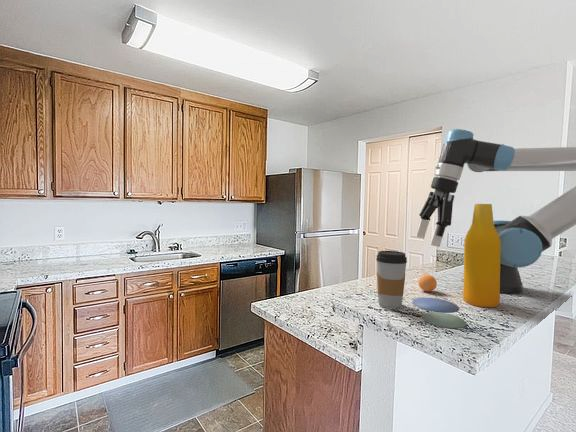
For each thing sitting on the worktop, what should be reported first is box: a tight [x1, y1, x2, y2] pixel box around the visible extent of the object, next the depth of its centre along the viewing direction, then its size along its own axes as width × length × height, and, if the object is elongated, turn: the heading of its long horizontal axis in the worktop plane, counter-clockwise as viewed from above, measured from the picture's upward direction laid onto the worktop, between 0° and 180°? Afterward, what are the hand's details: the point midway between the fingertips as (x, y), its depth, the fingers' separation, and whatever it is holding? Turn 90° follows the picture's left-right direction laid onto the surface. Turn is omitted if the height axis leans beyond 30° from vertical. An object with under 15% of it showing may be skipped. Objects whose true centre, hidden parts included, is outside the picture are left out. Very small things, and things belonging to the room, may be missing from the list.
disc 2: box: [421, 311, 467, 329], centre depth 80 cm, size 10×10×1 cm
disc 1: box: [412, 297, 459, 313], centre depth 91 cm, size 12×12×1 cm
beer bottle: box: [462, 203, 501, 308], centre depth 93 cm, size 9×9×29 cm
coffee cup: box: [375, 250, 408, 310], centre depth 90 cm, size 8×8×15 cm
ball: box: [418, 274, 437, 293], centre depth 105 cm, size 6×6×6 cm
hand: (426, 241), depth 106 cm, fingers open, 13 cm apart
